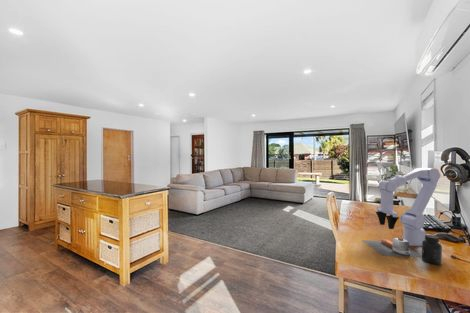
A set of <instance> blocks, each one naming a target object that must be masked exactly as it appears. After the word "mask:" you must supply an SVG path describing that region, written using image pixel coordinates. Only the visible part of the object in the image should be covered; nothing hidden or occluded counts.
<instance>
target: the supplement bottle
mask: <svg viewBox="0 0 470 313" xmlns="http://www.w3.org/2000/svg"><path fill="white" fill-rule="evenodd" d="M442 253H443V245H442V244H441V243H440V237H439V236H437V235H434V234H426V235H425V240H424V241H422V246H421V255H422V257H421V261H423V262H424V263H426V264H429V265H434V266H441V265H442V262H443V259H442V258H443V254H442Z"/></svg>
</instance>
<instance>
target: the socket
mask: <svg viewBox="0 0 470 313" xmlns="http://www.w3.org/2000/svg"><path fill="white" fill-rule="evenodd" d="M392 241H393V247H394V248H395V249H397V250H399V251H409V248H410V245H409V242H408V241H406V240H404V239H403V238H402V237H393V238H392Z"/></svg>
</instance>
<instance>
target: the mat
mask: <svg viewBox="0 0 470 313" xmlns="http://www.w3.org/2000/svg"><path fill="white" fill-rule="evenodd" d="M390 241H391V240H390ZM361 242H362V243H365V244H366V245H367V246H369V247H370V248H372V249H373V250H374V251H376V252H377V253H379V254H381V255H382V256H385V257H404V258H405V257H406V258H407V257H409V258H410V257H411V258H422V253H419V252H417V251H415V250H414V249H412V248H410V247H409V250H410V256H402V255H398V254H395V253H394V252H393V251H392V249H391V248H389V247H388V246H386V245H384V244H383V243H381V240H364V239H362V240H361ZM391 242H393V240H392V241H391Z"/></svg>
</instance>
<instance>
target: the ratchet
mask: <svg viewBox="0 0 470 313" xmlns="http://www.w3.org/2000/svg"><path fill="white" fill-rule="evenodd" d="M380 241H381V243H383V244H384V245H386V246H388V247H389V248H391V249H392V251H393V252H394V253H395V254H398V255H402V256H401V257H403V256H410V250H409V251H399V250H397V249H395V248H394V247H393V242H391V240H390V239H387V238H381V239H380Z"/></svg>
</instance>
